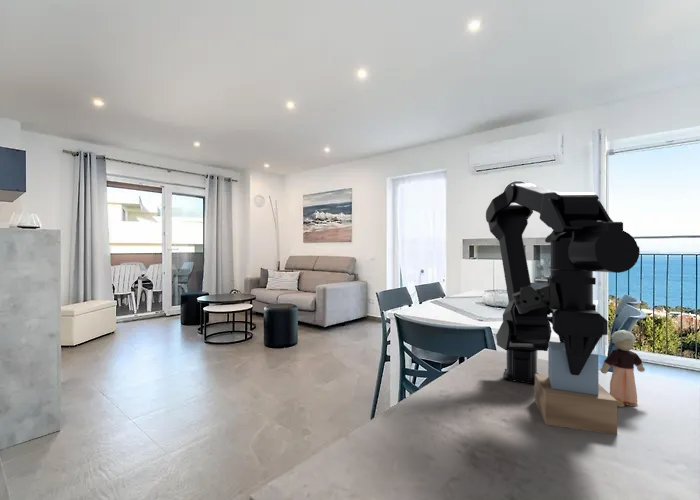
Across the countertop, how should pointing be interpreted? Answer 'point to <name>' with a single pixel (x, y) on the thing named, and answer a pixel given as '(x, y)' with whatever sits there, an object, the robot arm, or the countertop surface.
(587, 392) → the slate-blue cube
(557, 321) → the robot arm
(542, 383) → the tan flat block
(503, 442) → the countertop surface
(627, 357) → the grandmother figurine
